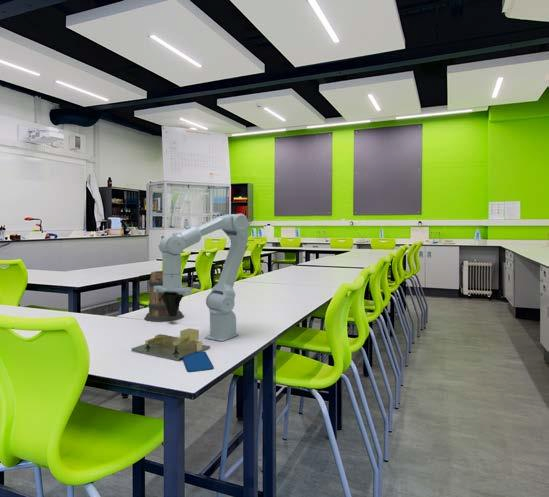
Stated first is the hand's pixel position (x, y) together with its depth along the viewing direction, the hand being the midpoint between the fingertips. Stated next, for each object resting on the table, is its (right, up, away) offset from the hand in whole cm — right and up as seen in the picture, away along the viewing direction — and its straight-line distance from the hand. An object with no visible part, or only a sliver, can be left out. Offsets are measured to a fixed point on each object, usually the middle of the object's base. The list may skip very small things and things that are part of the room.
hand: (172, 315), depth 129 cm
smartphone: (+10, -12, -13) cm, 21 cm away
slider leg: (+5, -10, -5) cm, 12 cm away
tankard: (-13, -9, +42) cm, 44 cm away
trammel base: (0, -11, -2) cm, 11 cm away
